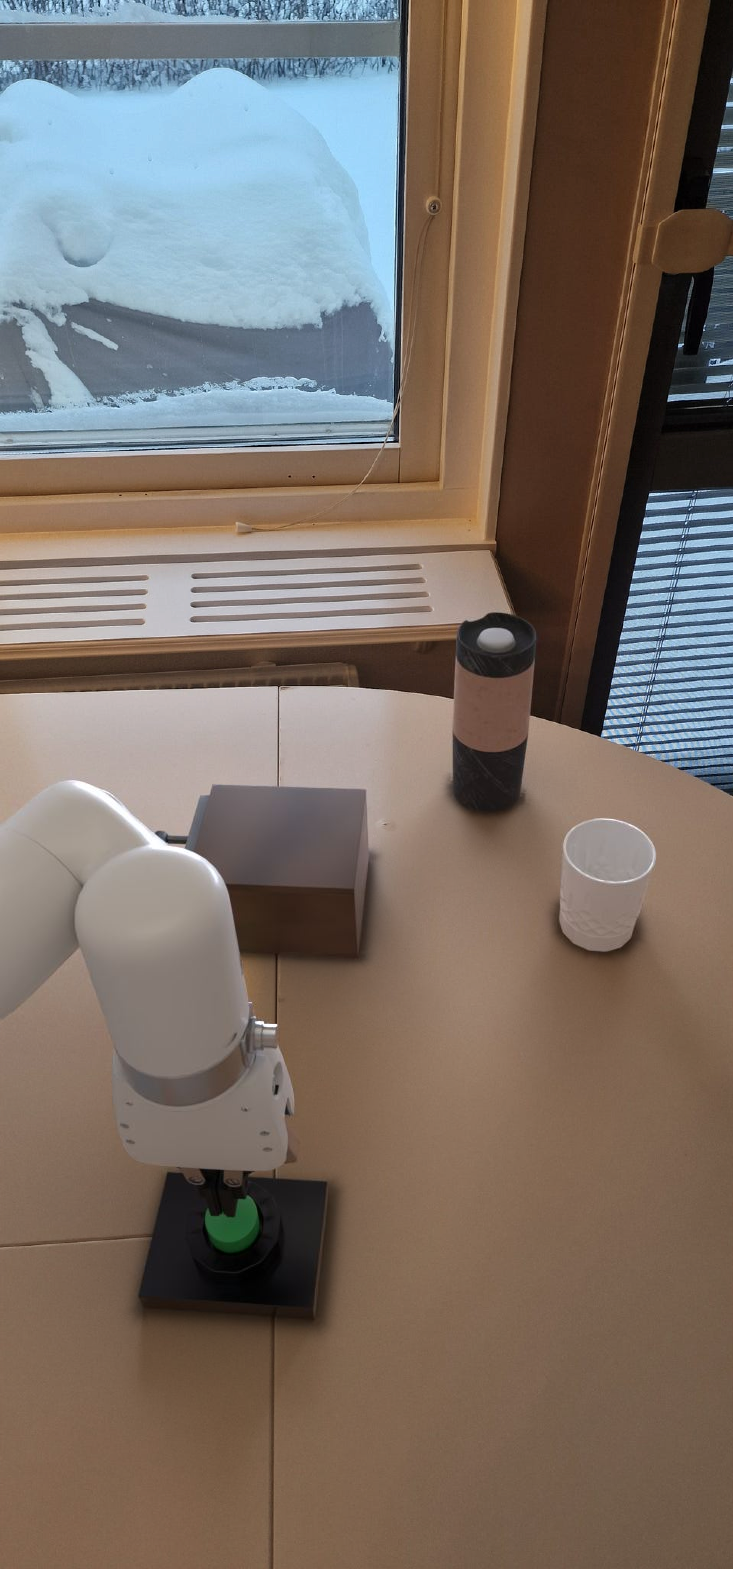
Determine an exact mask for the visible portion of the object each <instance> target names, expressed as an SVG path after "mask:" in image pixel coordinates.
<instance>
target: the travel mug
mask: <svg viewBox="0 0 733 1569" xmlns="http://www.w3.org/2000/svg"><path fill="white" fill-rule="evenodd" d="M455 641H456V642H455V643H456V644H455V661H454V662H455V664H454V665H455V666H454V685H453V706H452V707H453V708H452V732H451V734H452V735H451V736H452V737H451V738H452V791H453V794H454V797H455V798H456V800H457V802H459V803H460V804H461V805H463V806H465V807H466V808H468V809H471V810H473V811H477V812H483V813H493V812H501V811H503V810H505V809H508V808H510V807H511V806H513V805H514V804H515V803H516V802H517V801H518V799H519V797H520V794H521V789H522V782H523V775H524V769H525V768H524V767H525V761H526V753H527V746H528V738H529V731H530V721H531V706H532V696H533V684H534V673H535V672H534V671H535V660H536V659H535V658H536V650H537V649H536V648H537V633H536V630H535V628H534V626H533V625H532V624H531V623H530V622H529V621H527V619H524V618H522V617H520V616H518V615H515V614H511V613H507V612H495V611H494V612H488V613H485V615H484V616H483V617H481V618H479V619H475V620H471V621H470V620H467V619H465V620H463V621H462V622H461V624H460V625H459V627H458V629H457V631H456V640H455Z"/></svg>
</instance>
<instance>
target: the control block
mask: <svg viewBox="0 0 733 1569" xmlns="http://www.w3.org/2000/svg"><path fill="white" fill-rule="evenodd" d="M329 1193H330V1192H329V1185H328V1181H324V1180H308V1179H293V1178H291V1179H290V1178H276V1177H275V1178H273V1177H259V1176H258V1177H257V1176H249V1186H248V1192H247V1195H248V1196H249V1197H250V1198H251V1199H252V1200H253V1201H254V1203H255V1205H256V1208H257V1212H258V1217H259V1222H260V1229H259V1233H258V1236H257V1238H256V1239H255V1241H254V1242H253V1243H252V1245H251V1246H249V1247H248V1248H247V1249H245V1250H243V1251H241V1252H238V1253H225V1252H222V1251H220V1250H218V1249H217V1248H215V1247H214V1245H213V1244H212V1243H211V1241H210V1239H209V1235H208V1232H207V1228H206V1225H205V1215H206V1211H207V1209H208V1205H207V1202H206V1198H205V1197H201V1196H200V1193H199V1190H198V1187H197V1185H194V1184H191V1183H189V1182H188V1181H187V1180H186V1178H185V1176H184V1175H183V1173H182V1172H180V1171H179V1172H178V1171H166V1176H165V1179H164V1185H163V1188H162V1193H161V1197H160V1201H159V1206H158V1210H157V1215H156V1218H155V1223H154V1226H153V1232H152V1235H151V1239H150V1244H149V1248H148V1252H147V1257H146V1261H145V1266H144V1270H143V1273H142V1278H141V1283H140V1286H139V1291H138V1299H139V1302H140V1304H141V1307H142V1308H144V1309H156V1310H157V1309H158V1310H168V1311H169V1310H171V1311H183V1312H184V1311H185V1312H198V1313H212V1314H226V1315H240V1316H253V1317H254V1316H255V1317H267V1318H279V1319H295V1320H309V1321H315V1320H316V1312H317V1305H318V1304H317V1303H318V1295H319V1284H320V1277H321V1267H322V1258H323V1248H324V1240H325V1230H326V1221H327V1213H328V1206H329V1204H328V1203H329V1195H330V1194H329Z"/></svg>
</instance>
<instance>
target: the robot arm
mask: <svg viewBox="0 0 733 1569" xmlns="http://www.w3.org/2000/svg"><path fill="white" fill-rule="evenodd" d="M154 833H155V832H153V831H151V830H150V828H148V827H147V826H146V825H145V824H144V823H142V822H141V820H139V819H138V818H136V816H134V815H133V814H132V813H131V812H130V811H129V810H128V808H127V807H126V806H125V805H124V804H123V803H122V802H121V800H119V799H118V798H117V797H116V796H114V795H113V794H112V793H110V792H109V791H106V790H104V789H101V788H99V787H97V786H95V785H92V784H90V783H88V782H84V781H80V780H74V779H68V780H62V781H59V782H56V783H54V784H52V785H50V786H48V787H46V788H45V789H43V790H42V791H40V792H39V793H37V794H36V795H35V796H34V797H33V798H31V799H30V800H29V801H28V802H27V803H25V804H24V805H23V806H22V807H21V808H19V809H18V810H16V811H15V812H14V813H13V814H12V815H11V816H10V817H8V818H7V819H6V820H4V821H3V822H2V823H1V824H0V1021H2V1020H4V1019H6V1018H7V1017H8V1016H9V1015H11V1014H13V1013H14V1012H15V1011H16V1010H18V1009H19V1008H20V1007H22V1005H23V1004H24V1003H25V1002H26V1001H27V1000H29V999H30V998H31V997H32V996H33V995H34V994H35V993H36V992H37V991H38V990H39V989H40V988H41V987H42V986H43V985H44V984H45V983H46V982H47V981H49V979H50V978H51V977H52V976H53V975H54V974H55V973H56V972H57V971H58V970H59V969H60V968H61V967H62V966H63V965H64V964H65V963H66V962H67V961H68V960H69V959H70V958H71V956H73V954H74V953H76V952H77V950H78V949H80V952H81V955H82V957H83V960H84V963H85V965H86V969H87V972H88V976H89V978H90V980H91V983H92V987H93V989H94V992H95V994H96V998H97V1001H98V1004H99V1006H100V1009H101V1012H102V1016H103V1018H104V1021H105V1024H106V1027H107V1030H108V1032H109V1035H110V1038H111V1041H112V1045H113V1046H114V1047H113V1051H112V1057H111V1070H110V1071H111V1094H112V1106H113V1112H114V1119H115V1123H116V1127H117V1131H118V1134H119V1138H120V1141H121V1143H122V1145H123V1147H124V1149H125V1151H126V1153H127V1154H128V1155H129V1156H130V1158H131V1159H132V1160H134V1162H137V1163H141V1164H145V1165H150V1166H160V1167H171V1168H172V1167H173V1168H177V1169H179V1170H180V1171H181V1173H183V1175H184V1176H185V1178H186V1180H187V1181H188V1182H189V1183H191V1184H194V1185H197V1187H198V1190H199V1193H200V1196H201V1197H205V1198H206V1202H207V1205H208V1209H209V1212H210V1215H211V1216H219V1214H222V1212H223V1214H224V1215H226V1217H235V1214H236V1209H237V1203H238V1199H246V1197H247V1192H248V1186H249V1177H250V1176H249V1175H250V1174H253V1173H254V1172H255V1173H256V1172H266V1171H267V1172H268V1171H273V1170H276V1169H278V1168H280V1167H281V1166H283V1165H284V1164H285V1165H286V1164H294V1163H296V1162H297V1161H298V1154H299V1150H300V1149H299V1148H300V1140H299V1139H298V1137H297V1136H296V1134H295V1132H294V1131H293V1128H292V1127H291V1126H290V1124H289V1122H288V1121H287V1119H286V1117H291V1118H292V1117H294V1116H295V1094H294V1088H293V1085H292V1081H291V1078H290V1074H289V1071H288V1068H287V1065H286V1062H285V1060H284V1057H283V1054H282V1052H281V1049H280V1047H279V1040H280V1026H279V1024H278V1023H267V1022H266V1020H260V1018H259V1017H258V1016H256V1014H255V1009H254V1008H255V1007H254V1003H253V1002H252V1001H249V996H248V992H247V987H246V986H247V985H246V980H245V975H244V968H243V964H242V959H241V953H239V947H238V942H237V936H236V931H235V925H234V920H233V914H232V909H231V903H230V898H229V894H228V891H227V888H226V885H225V883H224V880H223V879H222V877H221V875H220V874H219V873H218V871H217V870H216V868H215V867H214V866H213V865H212V864H210V863H209V862H208V861H207V860H206V859H205V858H203V857H201V856H200V855H198V854H196V853H194V852H192V851H189V850H186V849H185V847H178V846H174V845H170V844H168V843H166V842H164V841H163V840H162V839H160V838H159V837H158V836H157V835H155V834H154Z"/></svg>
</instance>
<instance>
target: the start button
mask: <svg viewBox="0 0 733 1569" xmlns="http://www.w3.org/2000/svg"><path fill="white" fill-rule="evenodd" d="M205 1225H206V1228H207V1232H208V1235H209V1239H210V1241H211V1243H212V1244H213V1245H214V1247H215V1248H217V1249H218V1250H220V1251H222V1252H225V1253H238V1252H241V1251H243V1250H245V1249H247V1248H248V1247H249V1246H251V1245H252V1243H253V1242H254V1241H255V1239H256V1238H257V1236H258V1233H259V1229H260V1222H259V1217H258V1212H257V1208H256V1205H255V1203H254V1201H253V1200H252V1199H251V1198H250V1197H249V1196H248V1195H247V1197H246V1199H238V1203H237V1209H236V1214H235V1217H226V1215H224V1214H223V1212H222V1214H219V1216H211V1215H210V1212H209V1209H207V1211H206V1215H205Z"/></svg>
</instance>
